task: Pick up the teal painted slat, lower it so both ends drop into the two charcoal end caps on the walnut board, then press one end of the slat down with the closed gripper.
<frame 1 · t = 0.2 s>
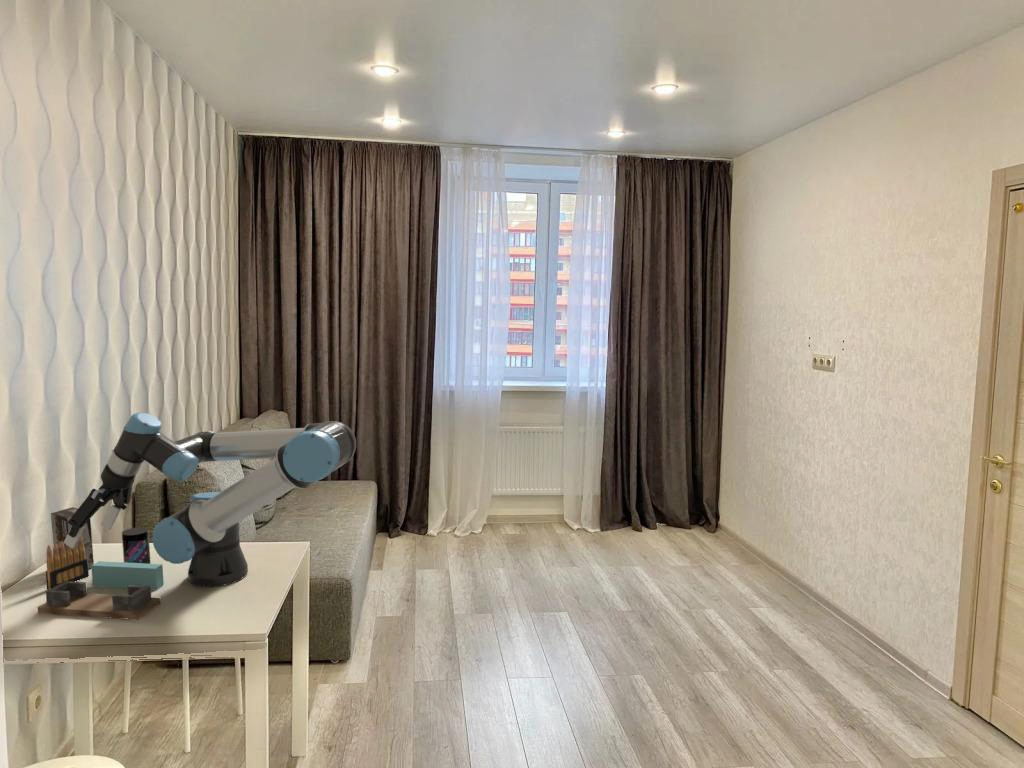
hand: (87, 535, 190), 14 cm above the table, tool tilted 30°, fingers open, 13 cm apart
slat: (128, 586, 194), on the table
coffee box: (74, 568, 207), on the table
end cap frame: (100, 608, 181), on the table
ammunition clip: (68, 583, 196), on the table
supplement container: (137, 567, 207), on the table
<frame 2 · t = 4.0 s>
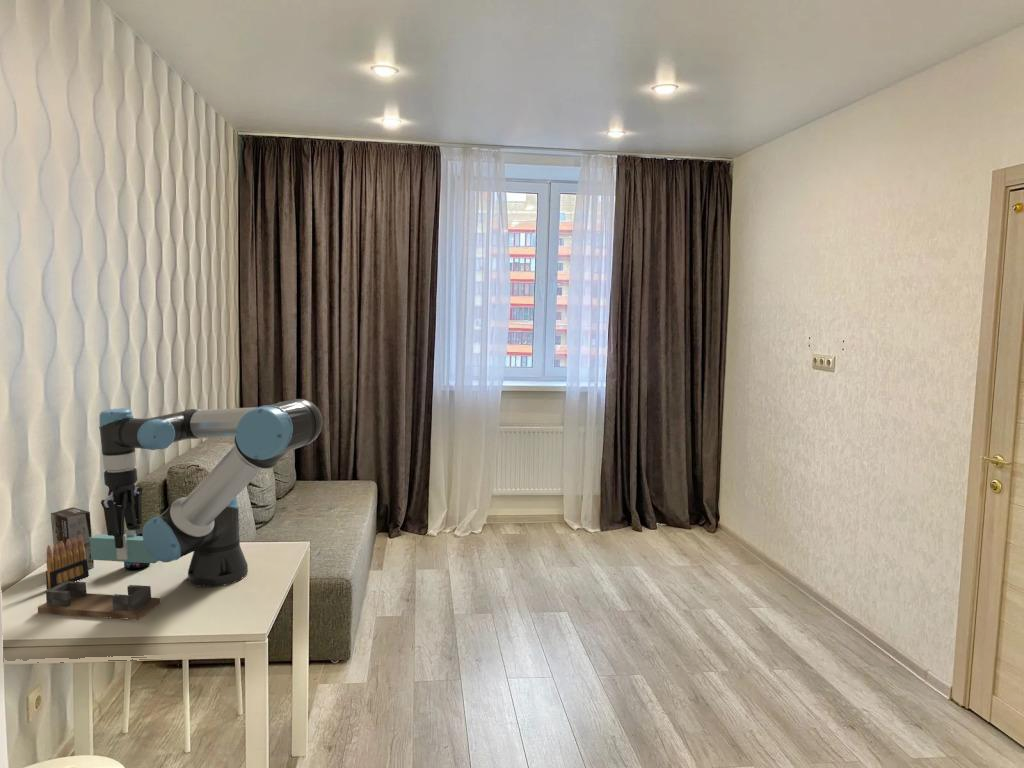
hand: (127, 556, 193), 8 cm above the table, tool pointing down, fingers closed on slat, 3 cm apart
slat: (126, 559, 193), point 7 cm above the table, touching gripper
everything else where it was.
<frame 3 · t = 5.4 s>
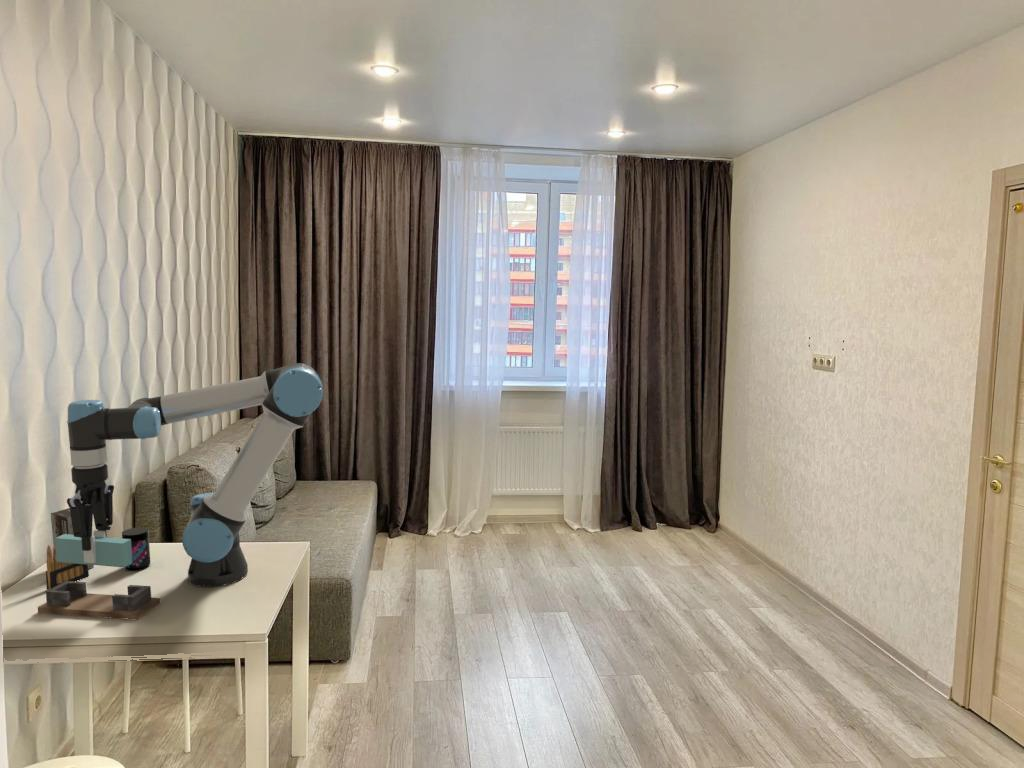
hand: (95, 559, 179), 12 cm above the table, tool pointing down, fingers closed on slat, 3 cm apart
slat: (94, 562, 179), point 12 cm above the table, touching gripper
everything else where it was.
when the fingers open (2 cm above the table, at t = 7.3 s): slat stays where it is, resting on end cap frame.
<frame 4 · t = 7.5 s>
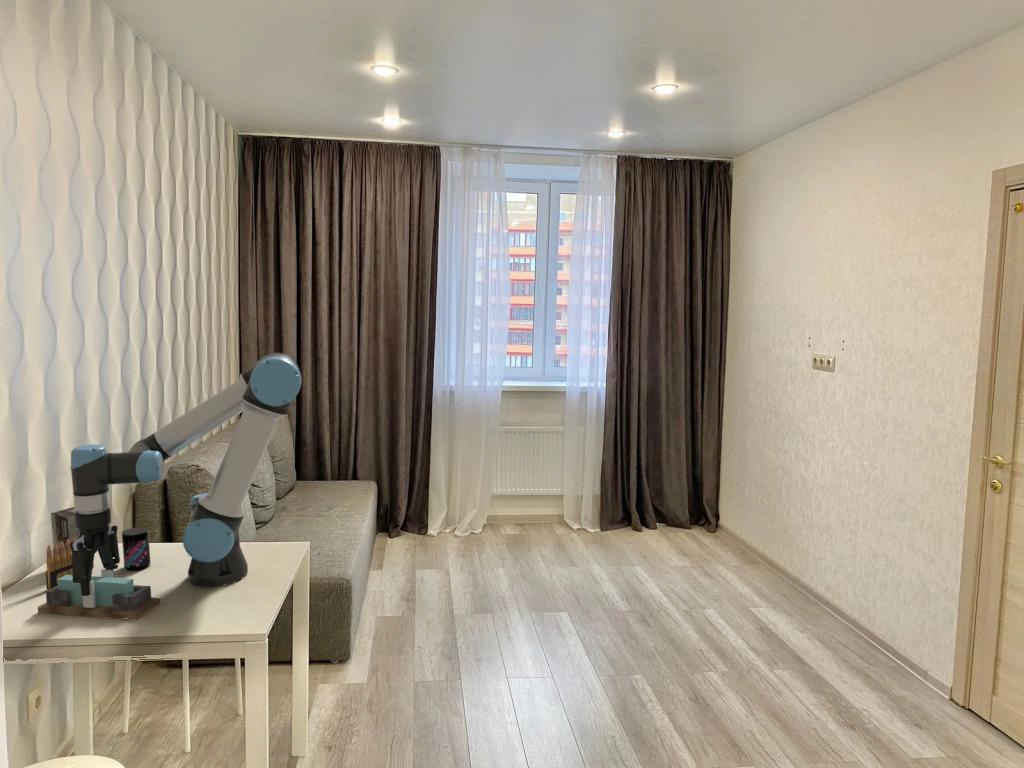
hand: (99, 600, 180), 2 cm above the table, tool pointing down, fingers open, 6 cm apart
slat: (97, 602, 180), point 1 cm above the table, touching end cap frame
everything else where it was.
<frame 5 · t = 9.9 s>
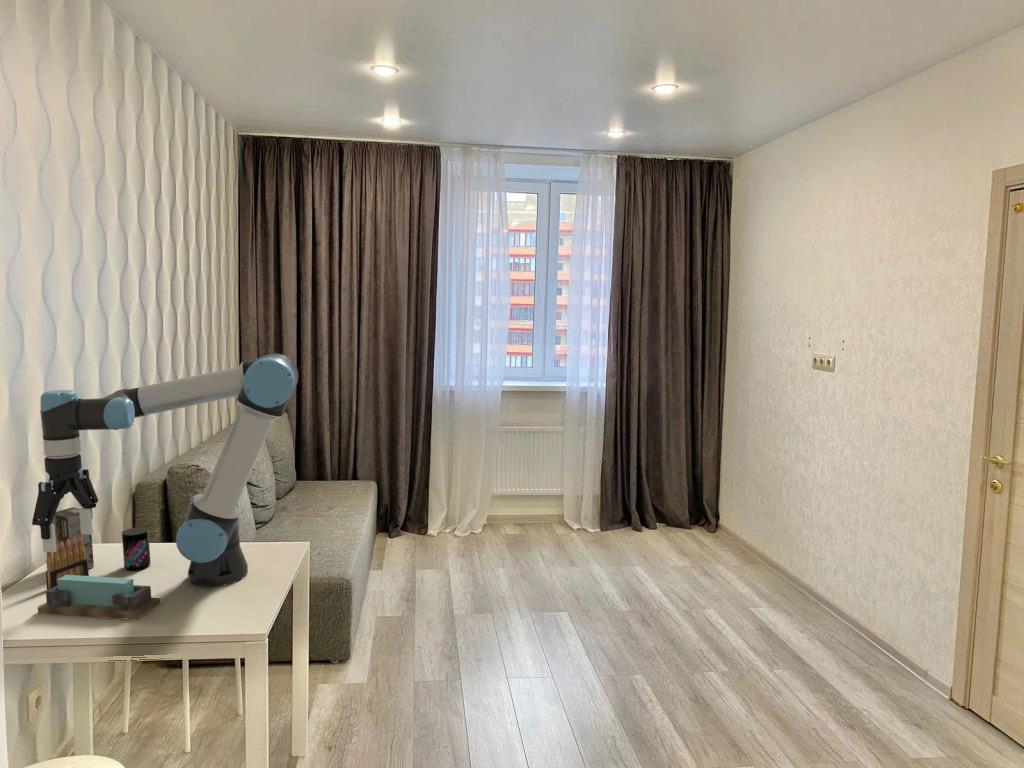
hand: (69, 542, 179), 16 cm above the table, tool pointing down, fingers open, 12 cm apart
nothing on the table moved.
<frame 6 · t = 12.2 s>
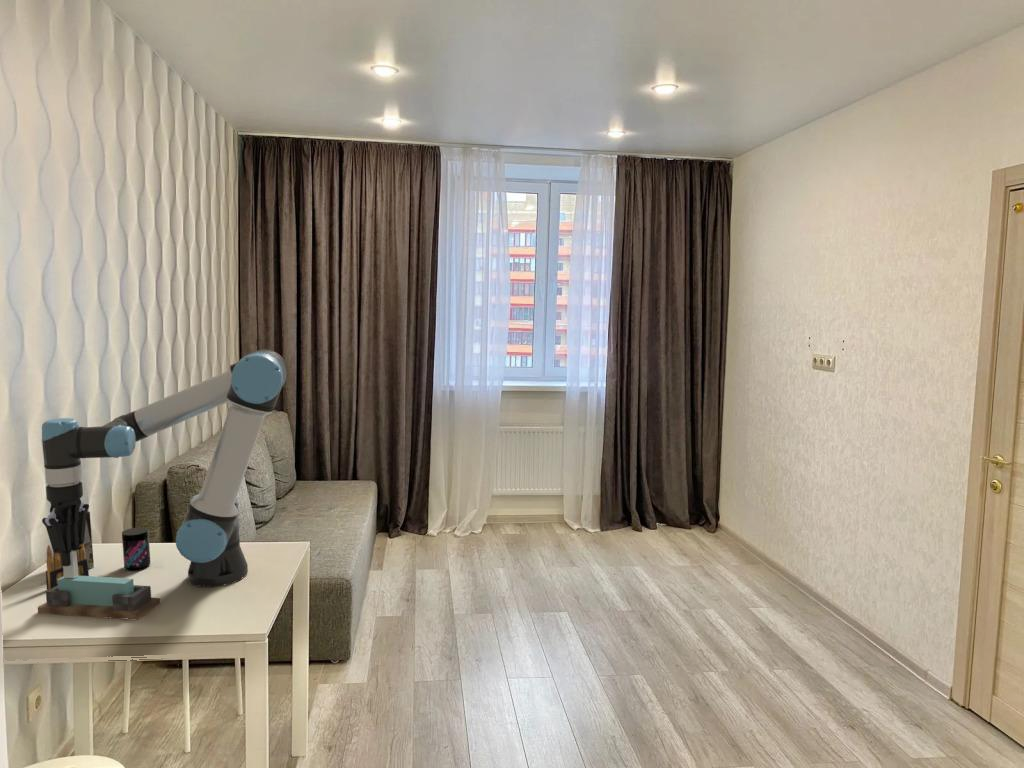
hand: (71, 576, 180), 8 cm above the table, tool pointing down, fingers closed
slat: (97, 602, 180), point 1 cm above the table, touching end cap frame, gripper
everything else where it was.
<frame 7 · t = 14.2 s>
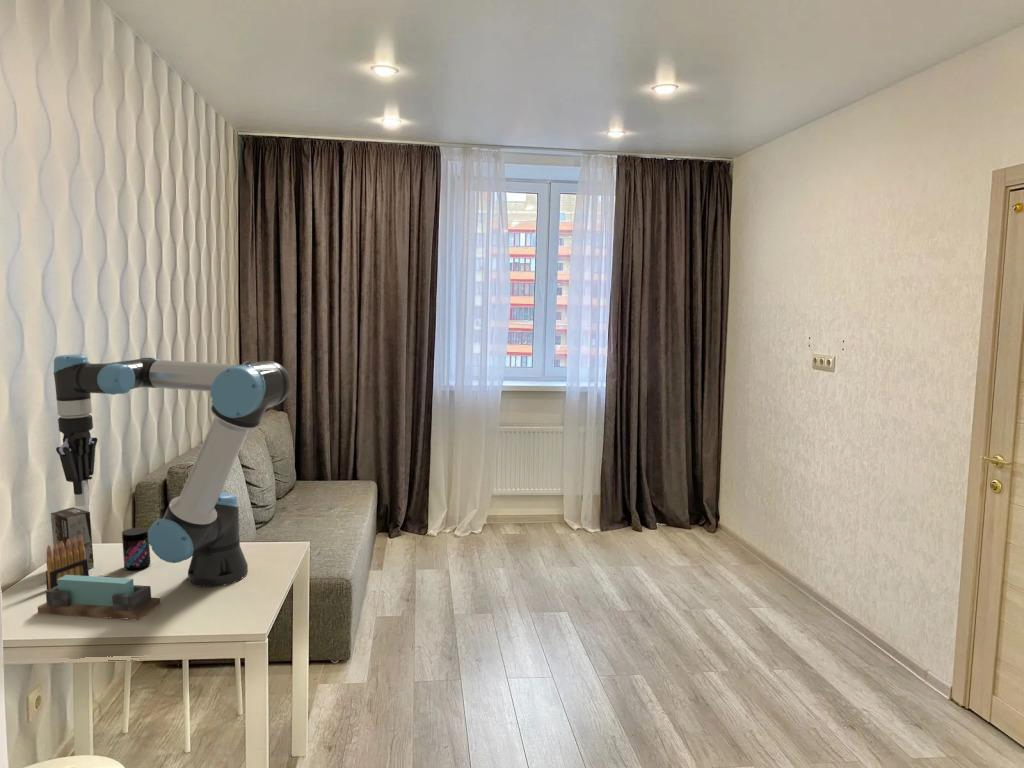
hand: (82, 505, 191), 22 cm above the table, tool pointing down, fingers closed
slat: (97, 602, 180), point 1 cm above the table, touching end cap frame
everything else where it was.
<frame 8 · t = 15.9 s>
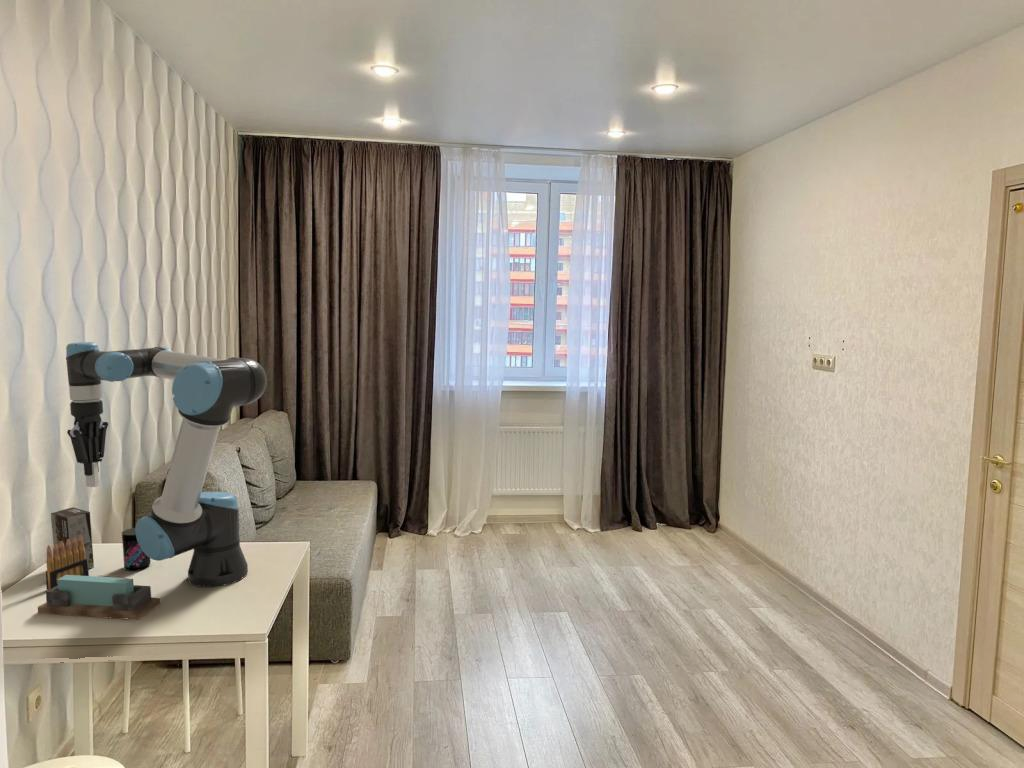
hand: (92, 486, 200), 24 cm above the table, tool pointing down, fingers closed
nothing on the table moved.
at the end: slat 0.6 cm off-centre on the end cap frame, point 1.5 cm above the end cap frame's base; slat tilted 0°; the gripper is holding nothing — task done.
